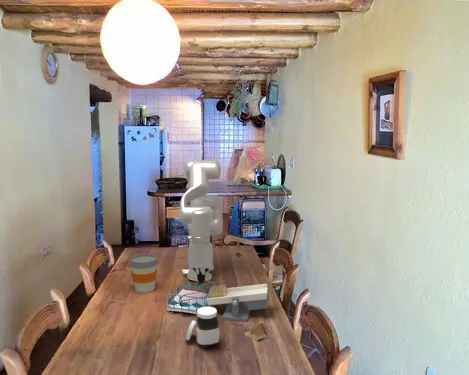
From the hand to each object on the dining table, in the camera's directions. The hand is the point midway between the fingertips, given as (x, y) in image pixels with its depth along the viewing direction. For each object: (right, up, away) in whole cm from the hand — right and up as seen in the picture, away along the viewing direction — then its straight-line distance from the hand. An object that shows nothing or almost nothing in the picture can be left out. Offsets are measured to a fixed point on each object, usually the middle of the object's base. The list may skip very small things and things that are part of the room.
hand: (201, 282), depth 163 cm
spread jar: (+2, -15, -24) cm, 29 cm away
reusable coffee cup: (-29, -9, +23) cm, 38 cm away
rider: (+7, -6, 0) cm, 9 cm away
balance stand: (+15, -12, 0) cm, 19 cm away
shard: (+21, -15, -18) cm, 32 cm away
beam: (+16, -10, -1) cm, 19 cm away
